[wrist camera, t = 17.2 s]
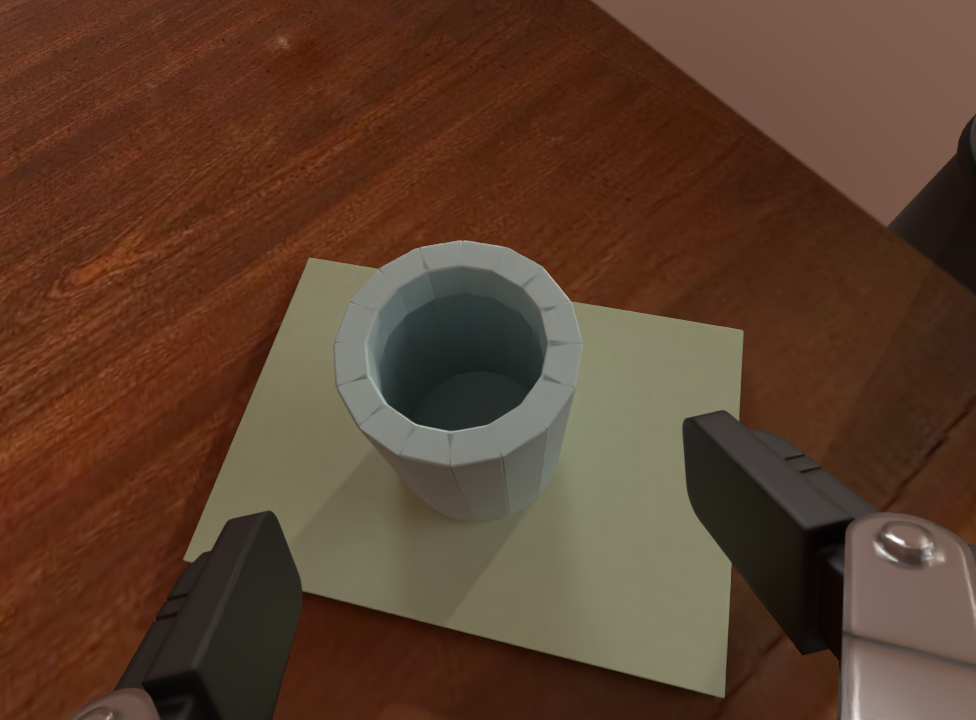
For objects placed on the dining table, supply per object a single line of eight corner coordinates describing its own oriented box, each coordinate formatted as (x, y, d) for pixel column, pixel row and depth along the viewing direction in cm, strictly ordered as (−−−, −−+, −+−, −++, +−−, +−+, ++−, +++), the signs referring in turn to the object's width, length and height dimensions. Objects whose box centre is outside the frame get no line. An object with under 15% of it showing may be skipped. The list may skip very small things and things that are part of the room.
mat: (737, 338, 25) (744, 330, 24) (717, 695, 19) (725, 698, 19) (314, 266, 28) (308, 257, 27) (193, 562, 22) (182, 560, 22)
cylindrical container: (571, 383, 24) (598, 260, 15) (542, 539, 21) (557, 491, 13) (424, 355, 25) (376, 225, 16) (380, 502, 22) (297, 435, 14)
